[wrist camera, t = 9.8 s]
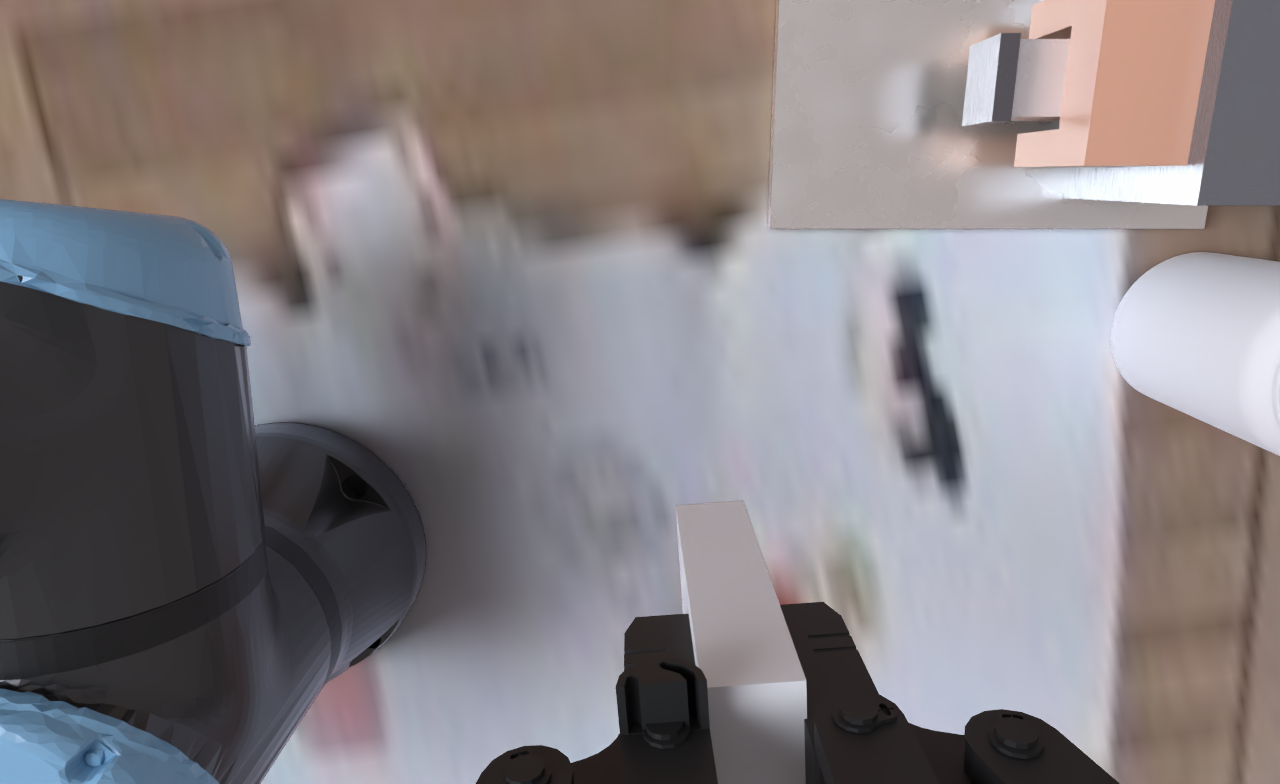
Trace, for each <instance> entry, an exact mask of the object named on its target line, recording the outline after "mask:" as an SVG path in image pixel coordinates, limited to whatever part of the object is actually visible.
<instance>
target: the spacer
mask: <svg viewBox="0 0 1280 784" xmlns="http://www.w3.org/2000/svg"><path fill="white" fill-rule="evenodd" d="M1214 5H1215V0H1043V1H1041V2H1039V3H1037V4H1035V5H1032V14H1031V23H1030V31H1029V39H1070V45H1069V53H1068V61H1067V69H1066V77H1065V84H1064V92H1063V100H1062V108H1061V116H1060V123H1059V129H1055V130H1047V131H1038V132H1030V133H1021V134H1018V135H1017V144H1016V152H1015V161H1014V167H1133V166H1184V165H1187V164H1188V158H1189V152H1190V146H1191V140H1192V135H1193V129H1194V123H1195V117H1196V111H1197V105H1198V99H1199V93H1200V87H1201V82H1202V76H1203V70H1204V64H1205V58H1206V52H1207V46H1208V40H1209V34H1210V29H1211V23H1212V17H1213V11H1214Z"/></svg>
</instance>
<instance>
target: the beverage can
mask: <svg viewBox="0 0 1280 784" xmlns="http://www.w3.org/2000/svg"><path fill="white" fill-rule="evenodd" d="M1111 349H1112V355H1113V358H1114V361H1115V364H1116V366H1117V368H1118V370H1119V372H1120V374H1121V375H1122V376H1123V378H1124V379H1125V380H1126V381H1127V382H1128V383H1129V384H1130V385H1131V386H1132V387H1133V388H1134V389H1136V390H1137V391H1139V392H1140V393H1142V394H1144V395H1146V396H1148V397H1150V398H1152V399H1154V400H1157V401H1159V402H1161V403H1163V404H1165V405H1168V406H1170V407H1172V408H1174V409H1176V410H1179V411H1181V412H1183V413H1185V414H1188V415H1190V416H1192V417H1194V418H1196V419H1199V420H1201V421H1203V422H1205V423H1208V424H1210V425H1212V426H1214V427H1216V428H1219V429H1221V430H1223V431H1225V432H1227V433H1230V434H1232V435H1234V436H1236V437H1239V438H1241V439H1243V440H1245V441H1247V442H1250V443H1252V444H1254V445H1256V446H1259V447H1261V448H1263V449H1265V450H1267V451H1270V452H1272V453H1274V454H1276V455H1279V456H1280V262H1278V261H1270V260H1263V259H1256V258H1249V257H1241V256H1234V255H1227V254H1219V253H1211V252H1193V253H1187V254H1182V255H1179V256H1175V257H1172V258H1170V259H1167V260H1165V261H1163V262H1161V263H1159V264H1158V265H1156V266H1154V267H1153V268H1151V269H1150V270H1148V271H1147V272H1146V273H1144V274H1143V275H1142V276H1141V277H1140V278H1139V279H1138V280H1137V281H1136V282H1135V283H1134V284H1133V285H1132V286H1131V287H1130V289H1129V290H1128V291H1127V293H1126V294H1125V295H1124V297H1123V299H1122V300H1121V302H1120V304H1119V306H1118V308H1117V311H1116V313H1115V316H1114V320H1113V324H1112V329H1111Z"/></svg>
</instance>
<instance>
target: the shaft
mask: <svg viewBox="0 0 1280 784" xmlns="http://www.w3.org/2000/svg"><path fill="white" fill-rule="evenodd" d="M1020 38H1021V33H1000V34H998V35H995V36H993V37H991V38H988V39H986V40H983V41H981V42H979V43H976V44H974V45H971V46H970V50H969V60H968V70H967V80H966V90H965V101H964V111H963V121H962V126H984V125H991V124H997V123H1004V122H1010V121H1060V116H1061V108H1062V100H1063V92H1064V84H1065V77H1066V69H1067V61H1068V53H1069V45H1070V39H1020Z"/></svg>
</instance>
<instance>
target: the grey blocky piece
mask: <svg viewBox="0 0 1280 784" xmlns="http://www.w3.org/2000/svg"><path fill="white" fill-rule="evenodd" d="M1041 1H1043V0H776V17H775V42H774V67H773V93H772V118H771V143H770V168H769V194H768V219H767V227H768V228H770V229H1204V227H1205V222H1206V216H1207V210H1208V206H1280V0H1215V5H1214V11H1213V17H1212V23H1211V29H1210V34H1209V40H1208V46H1207V52H1206V58H1205V64H1204V70H1203V76H1202V82H1201V87H1200V93H1199V99H1198V105H1197V111H1196V117H1195V123H1194V129H1193V135H1192V140H1191V146H1190V152H1189V158H1188V164H1187V165H1184V166H1133V167H1014V161H1015V152H1016V144H1017V135H1018V134H1021V133H1030V132H1038V131H1047V130H1055V129H1059V123H1060V121H1010V122H1004V123H997V124H991V125H984V126H962V121H963V111H964V101H965V90H966V80H967V70H968V60H969V50H970V46H971V45H974V44H976V43H979V42H981V41H983V40H986V39H988V38H991V37H993V36H995V35H998V34H1000V33H1021V38H1020V39H1029V31H1030V23H1031V14H1032V5H1035V4H1037V3H1039V2H1041Z"/></svg>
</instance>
